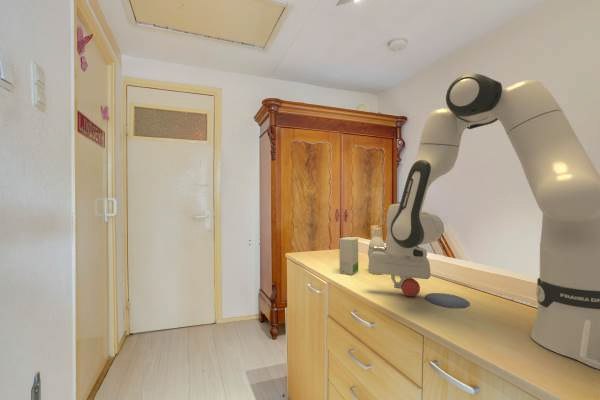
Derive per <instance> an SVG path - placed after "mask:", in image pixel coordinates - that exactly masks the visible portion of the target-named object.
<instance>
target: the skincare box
mask: <svg viewBox="0 0 600 400" xmlns="http://www.w3.org/2000/svg"><path fill="white" fill-rule="evenodd" d="M338 242H339V274H342V275H349V276H353V275H355V274H356V273H358V272H359V238H358V237H349V236H348V237H346V236H345V237H342V238H341V237H340V238H339V241H338Z"/></svg>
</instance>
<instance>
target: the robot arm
mask: <svg viewBox="0 0 600 400" xmlns="http://www.w3.org/2000/svg"><path fill="white" fill-rule="evenodd" d="M445 102H446V107H441V108H436V109H434V110H433V111H431V112H430V113H429V114H428V115H427V118H426V120H425V122H424V125H423V129H422V132H421V137H420V140H419V145H418V149H417V154H416V156H415V159H414V160H415V161H414V163H413V164H412V165H411V168H410V169H409V172H408V174H407V178H406V182H405V185H404V189H403V192H402V196H401V200H400V201H399V202H393V203H391V204H390V205H388V209H387V214H386V224H385V225H386V230H387V231H386V232H387V233H386V237H385V247H376V246H373V247H371V248H369V247H368V250H367V257H368V266H367V269H368V270H367V271H368V273H370V274H372V273H378V274H377V275H388V276H390V279H391V280H392V283H393V288H394V289H399V290H402V289H401V284H402V283H403V282H404V280H405V277H412V279H422V280H428V279H430V278H431V265H430V261H429V259H428V258H427V256H428V251H427V249H425V248H424V247H422V246H423V245H427V244H432V243H435V242H436V241H439V240H440V239H441V238H442V237H443V234H444V224H443V221H442V219H440V217H439V216H437V215H435V214H433V213H429V212H427V211H424V210H423V207H424V203H425V200H426V195H427V192H428V189H429V187H430V186H431V185H432V183H433V182H434V181H436V180H437V179H439V178H440V177H442V176H445V175H446V174H448V173H449V172H450V171H452V169H454V167H455V164H456V163H457V159H458V157H459V152H460V151H459V150H460V146H461V145H460V144H461V139H462V136H463V133H464V131H465V130H466V129H468V130H472V129H473V130H474V129H476V128H479V127H483V126H488V125H492V124H493V123H495V122H497V121H499V122H500V124H502V125H501V126H502V127H503V129H504V131H505V134H506V135H507V138H508V139H509V142H510V143H511V145H512V147H513V149H514V152H515V154H516V156H517V157H518V158H517V159H518V160H519V162H520V164H521V168H522V169H523V172H524V175H525V178H526V180H527V183H528V185H529V187H530V191H531V193H532V195H533V197H534V199H535V201H536V204H537V206H538V208H539V210H540V212H542V219H541V220H542V221H541V235H540V244H539V277H538V278H537V280H536V281H537V282H536V301H537V303H538V304H537V310H536V311H537V312H536V316H535V320H534V324H533V327H532V329H531V332H530V337H531V339H532V340H533V341H534V342H536V343H537V344H538V345H540V346H542V347H544V348H545V349H548V350H549V351H552V352H555V353H557V354H559V355H562V356H565V357H568V358H571V359H574V360H576V361H578V362H581V363H583V364H586V366H589V367H592V368H595V369H596V370H600V174H599V172H598V170H597V168H596V166H595V165H594V164H593V161H592V160H591V159H590V156H589V155H588V153H587V151H586V150H585V148H584V146H583V144H582V143H581V141H580V139H579V137H578V136H577V134H576V133H575V131H574V128H573V127H572V125H571V124H570V121H569V120H568V118H567V116H566V114H565V113H564V111H563V109H562V108H561V106H560V104H559V103H558V100H556V99H555V97H554V96H553V95H552V93H551V92H550V91H549V90H548V89H547V88H546V87H545V85H544V84H542V83H541V81H538V80H535V79H526V80H525V79H524V80H521V81H519V82H516V83H514V84H511V85H510V86H507V87H503V85H502V82H500V81H497V80H495V79H493V78H491V77H489V76H486V75H485V74H484V75H483V74H479V73H467V74H464V75H463V74H462V75H461V76H459V77H457V78H456V79H454V81H453V82H452V83H451V84H450V85H449V87H448V89H447V90H446V95H445ZM376 249H377V250H376ZM369 258H370V259H369ZM396 276H397V277H400V280H399V281H396Z"/></svg>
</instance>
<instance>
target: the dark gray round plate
mask: <svg viewBox="0 0 600 400" xmlns="http://www.w3.org/2000/svg"><path fill="white" fill-rule="evenodd" d="M424 299H425V300H426V302H429V303H430V304H433V305H436V306H439V307H444V308H449V309H451V308H452V309H464V308H468V307H469V306H470V305H471V304H470V302H469V301H468V300H467V299H466V298H464V297H461V296H457V295H455V294H450V293H444V292H443V293H442V292H431V293H428V294H425V296H424Z"/></svg>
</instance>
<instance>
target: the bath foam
mask: <svg viewBox="0 0 600 400" xmlns="http://www.w3.org/2000/svg"><path fill="white" fill-rule="evenodd" d="M373 246H376V247H386V244H385V242H384V240H383V239H382V237H381V228H379V227H375V228H373V236H372V238H371V239H370V241H369V245H368V249H369V248H371V247H373ZM376 250H377V249H376ZM369 259H370V258H369V257H368V260H369ZM371 274H373V275H379V274H378V273H371Z"/></svg>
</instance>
